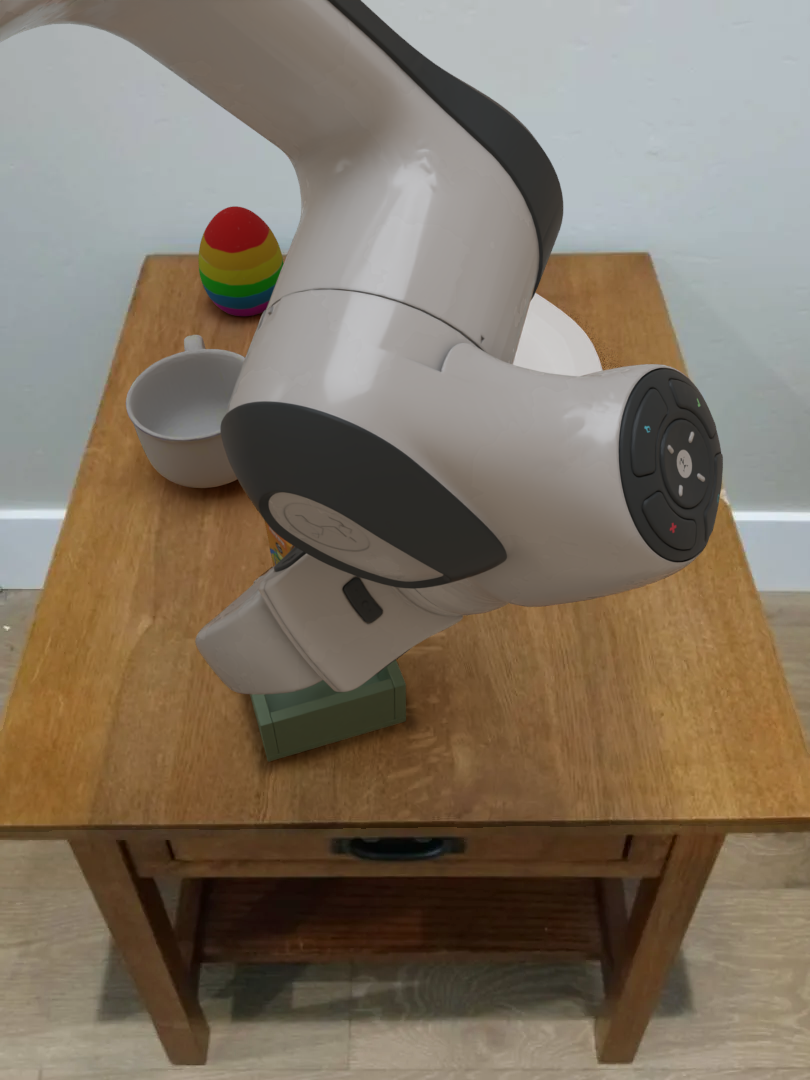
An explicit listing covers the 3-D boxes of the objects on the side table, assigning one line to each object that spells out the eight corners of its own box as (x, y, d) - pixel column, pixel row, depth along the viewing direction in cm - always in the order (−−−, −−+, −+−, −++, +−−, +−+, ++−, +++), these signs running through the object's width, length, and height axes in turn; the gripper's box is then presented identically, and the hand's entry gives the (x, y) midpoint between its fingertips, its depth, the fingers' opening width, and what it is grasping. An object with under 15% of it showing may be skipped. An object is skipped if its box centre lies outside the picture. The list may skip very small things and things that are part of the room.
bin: (268, 762, 64) (260, 726, 61) (237, 648, 70) (228, 609, 67) (406, 721, 66) (406, 684, 63) (364, 613, 72) (362, 574, 69)
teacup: (266, 508, 79) (255, 435, 73) (133, 507, 79) (111, 434, 73) (283, 395, 88) (274, 323, 82) (163, 395, 89) (145, 322, 83)
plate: (631, 411, 87) (635, 394, 86) (429, 463, 83) (429, 446, 81) (539, 292, 99) (541, 276, 97) (358, 333, 95) (357, 316, 93)
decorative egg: (206, 280, 100) (190, 189, 93) (285, 274, 101) (276, 184, 93) (204, 328, 95) (187, 236, 88) (288, 322, 96) (278, 231, 88)
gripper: (516, 366, 52) (378, 426, 63) (242, 606, 41) (137, 626, 53) (576, 463, 53) (432, 504, 65) (327, 718, 43) (207, 714, 54)
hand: (297, 561), depth 59 cm, fingers closed on supplement box, 4 cm apart
